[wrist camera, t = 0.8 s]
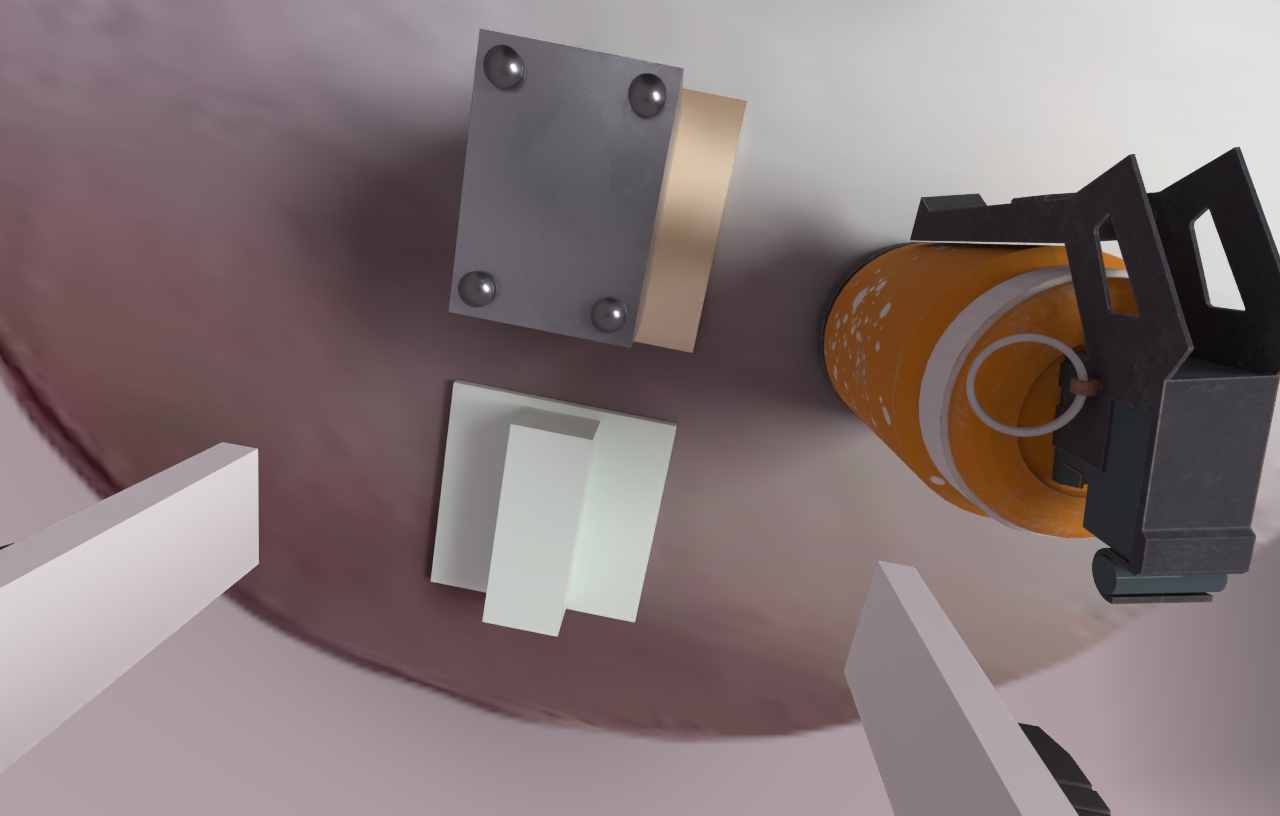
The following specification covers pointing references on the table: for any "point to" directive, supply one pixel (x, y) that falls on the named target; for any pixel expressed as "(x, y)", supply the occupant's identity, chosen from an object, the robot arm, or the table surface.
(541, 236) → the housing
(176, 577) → the robot arm
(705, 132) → the stand
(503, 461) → the stand
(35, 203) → the table surface
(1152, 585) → the canister
